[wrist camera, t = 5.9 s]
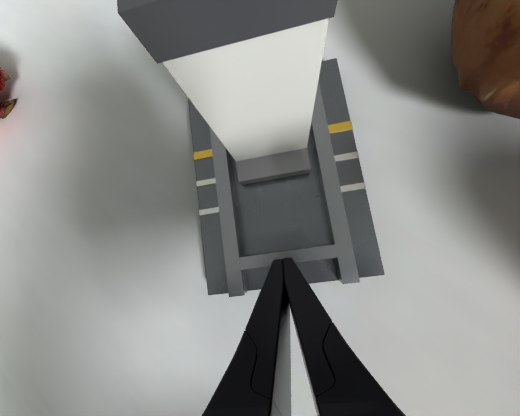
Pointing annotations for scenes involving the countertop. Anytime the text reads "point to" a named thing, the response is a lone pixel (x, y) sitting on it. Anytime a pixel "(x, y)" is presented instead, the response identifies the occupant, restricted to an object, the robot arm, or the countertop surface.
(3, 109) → the dragon fruit
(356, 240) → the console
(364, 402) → the robot arm
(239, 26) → the plate
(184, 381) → the countertop surface
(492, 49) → the butternut squash
